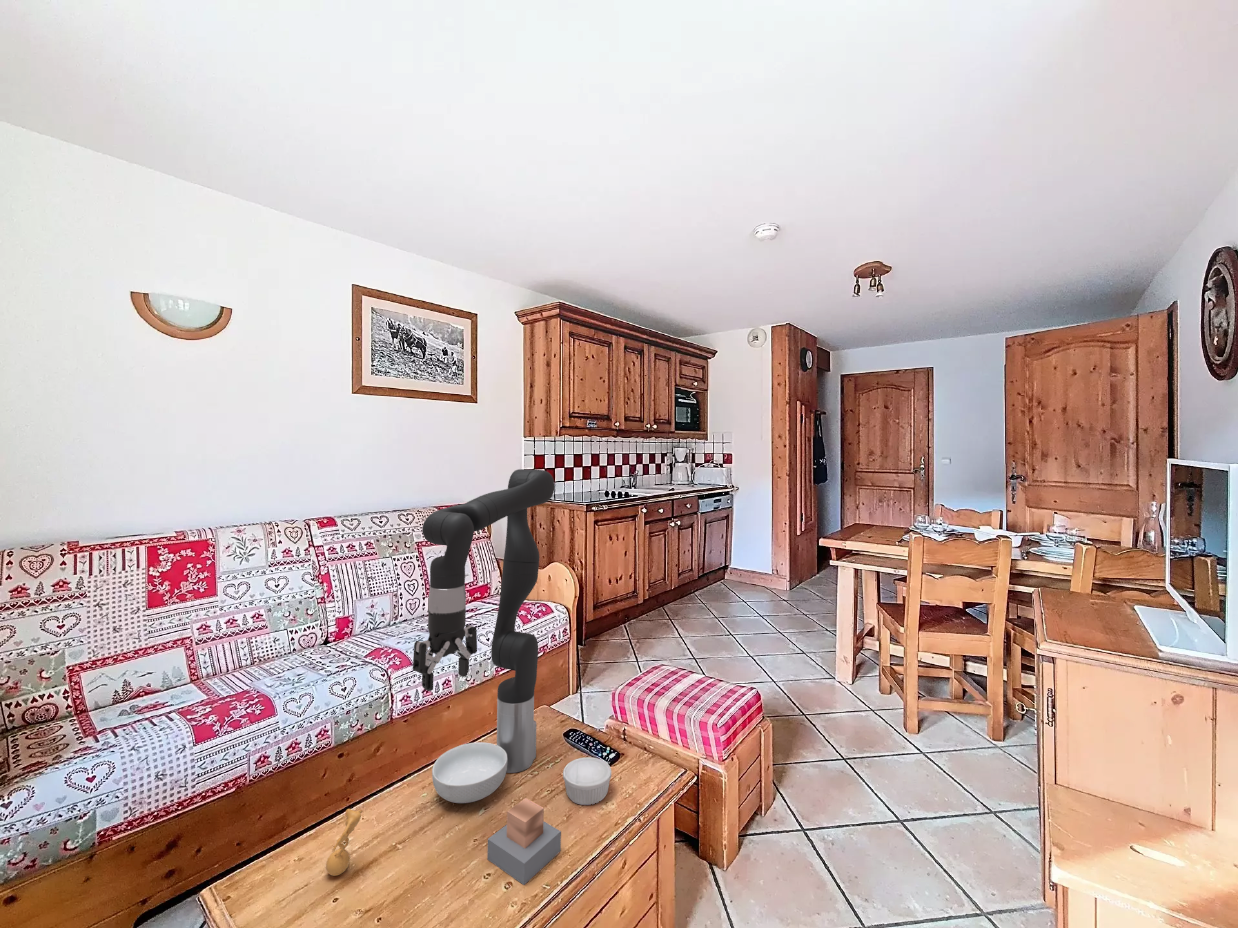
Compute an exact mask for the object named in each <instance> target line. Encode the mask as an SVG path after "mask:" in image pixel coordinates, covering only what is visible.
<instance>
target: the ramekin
mask: <svg viewBox="0 0 1238 928" xmlns="http://www.w3.org/2000/svg"><path fill="white" fill-rule="evenodd" d="M611 778H612V769H611V766H610V765H609V764H608V763H607V761H605V760H603V759H600V758H597V757H589V756H588V757H579V758H576V759H573V760H571V761H570V762H568V763H567V764H566V765H565V766H564V767H563V770H562V779H563V780H564V786H565V790H566V791H565V793H566V795H567V797H568V798H569V800H570V801H572V802H573V803H574V804H578V805H582V806H591V804H592V805H595V803H596V804H598V803H600V802H601V801H603V800H604V798H605V797H606V796H607V794H608V792H609V787H610V786H609V785H610V782H611V781H610V780H611ZM599 801H600V802H599Z"/></svg>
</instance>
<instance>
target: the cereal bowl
mask: <svg viewBox="0 0 1238 928" xmlns="http://www.w3.org/2000/svg"><path fill="white" fill-rule="evenodd" d="M507 760H508V759H507V754H506V752H505V750H504V749H502V748H501V747H499V746H497V744H495V743H490V742H484V741H483V742H481V741H480V742H479V741H478V742H477V741H476V742H469V743H465V744H461V745H458V746H455V747H453V748H450V749H448V750H447V751H445V752H444V753H442V754H441V755H440V756H439V757H438V758H437V759H436V761H435V762H434V764H433V766H432V769H431V778H432V779H431V780H432V783H433V786H434V789H435V791H436V794H438V796H439V797H440V798H442V799H444V800H445V801H448V802H451V803H456V804H469V803H473V802H478V801H480V800H482V799H484V798H486V797H488V796H490V795H491V794H493V793H494V792H495V791H496V790H497V789H498V788H500V786H501V784H502V783H503V781H504V779H505V777H506V775H507V772H506V771H507Z"/></svg>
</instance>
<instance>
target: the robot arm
mask: <svg viewBox="0 0 1238 928" xmlns="http://www.w3.org/2000/svg"><path fill="white" fill-rule="evenodd" d="M554 491H555V480H554V477H553V475H552V474H551V473H550V472H549V471H547V470H543V469H530V468H529V469H527V468H524V469H523V468H522V469H521V468H519V469H516V470H514V471H513V472H511V475H510V476H509V479H508V485H507V488H506V489H501V490H496V491H492V492H488V493H485V494H482V495H479V496H477V497H475V498H473V499H471V500H469V501H467V502H465V503H461V504H457V505H456V504H455V505H451V506H449V507H445V508H440V509H437V510H436V511H434V512H432V513H431V514H429V515H428V516H427V517H426V518H425V520H424V522H423V524H422V528H421V530H422V531H421V533H422V535H423V537H424V539H425V540H426V541H427V542H428V543H430V544H433V545H436V546H437V545H438V546H439V545H440V546H446V549H445V552H444V555H442V556H441V555H440V556H437V557H435V558H434V559H432V561H431V562H430V567H429V593H428V603H427V605H428V610H427V611H428V612H427V615H428V616H427V617H428V618H427V630H428V633H429V635H428V638H427V640H423V641H420V640H416V641H414V644H413V660H412V670H413V671H415V672H417V673H419V674H421V675H422V676H421V686H422V688H423V689H424V690H425V691H427V692H431V691H433V690H434V672H433V671H434V669H435V667H436V666H437V664H439V663H440V662H441V659H442V658H446V657H447V656H449V655H454V654H457V655H458V656H459V657H458V668H457V669H458V673H457V674H458V675H459V676H461V677H462V678H466V677H467V676H468V673H469V670H470V658H471V656H473V654H474V655H475V654H477V653H478V637H477V636H478V635H477V627H476V626H473V625H469V624H466V619H467V617H466V613H467V612H466V609H467V608H466V605H467V604H466V603H467V594H466V593H467V592H466V584H465V583H466V564H467V560H468V557H469V554H470V550H471V546H472V543H473V538H474V535H475V532H478V531H481V530H482V531H483V529H486V528H487V527H489V526H490V525H491V526H492V524H494V523H496V522H498V521H500V520H502V519H504V518H507V519H506V521H507V522H506V533H505V534H506V535H505V547H504V554H503V561H502V562H503V563H502V570H501V572H502V573H501V584H500V585H501V586H500V596H499V602H498V611H497V616H496V621H495V625H494V632H493V637H492V642H491V651H490V652H491V653H490V654H491V655H490V657H491V661H492V664H493V665H494V666H495V667H497V668H500V669H504V670H505V669H506V670H509V671H515V672H514V677H513V676H512V677H510V678H507V679H504V680H503V681H501V682H500V683H499V685H498V687H497V699H496V700H497V703H496V710H497V712H496V745H497V746H499V747H501V748H502V749H504V750H505V752H506V754H507V759H508V760H507V771H506V774H507V773H509V774H510V773H511V774H512V773H520V772H523V771H525V770H527V769H529V768H530V767H531V766H532V764H533V763H534V760H535V759H536V757H537V721H536V720H534V719H535V689H536V688H535V687H536V683H537V678H538V677H537V676H538V674H537V673H538V661H539V643H538V639H537V637H536V636H535V635H534V634H532V633H528V632H523V631H522V632H521V631H517V630H516V623H517V622H516V621H517V617H518V614H519V610H520V609H521V607H522V605H523V604H524V603H525V601H526V599H527V598H528V597H529V595H530V594H531V592H532V591H533V589H534V588H535V586H536V584H537V582H538V576H539V568H540V559H541V558H540V552H539V548H538V545H537V543H536V541H535V539H534V537H533V535H532V531H531V529H530V527H529V521H528V509H529V508H532V507H536V506H539V505H543V504H546V503H548V502H549V501H550V500H551V499H552V497H553V495H554V493H555V492H554ZM464 639H465V640H464ZM463 640H464V641H465V644H464V643H463ZM433 655H435V656H433Z"/></svg>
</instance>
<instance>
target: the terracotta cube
mask: <svg viewBox="0 0 1238 928" xmlns="http://www.w3.org/2000/svg"><path fill="white" fill-rule="evenodd" d="M543 821H544V807H543V806H541V805H540V804H537V803H536V802H534V801H532V800H531V799H530V798H529V799H528V798H527V797H524V798H523V799H522V800H520V801H519V802H518V803H516V804H515V805H514V806H513V807H511V808H510V809H508V810H507V811H506V825H507V837H508V838H509V839H511V840H512V841H514V842H515V843H517V844H519V845H520V846H522V847H523V848H526V847H527V846H529V845H530V844H531V843H532V842H533V841H534V840H536V839H537V838H538V837H539V836H540V835H541V834H543Z"/></svg>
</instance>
